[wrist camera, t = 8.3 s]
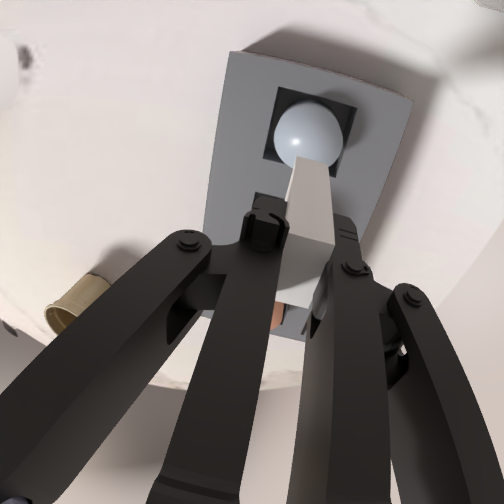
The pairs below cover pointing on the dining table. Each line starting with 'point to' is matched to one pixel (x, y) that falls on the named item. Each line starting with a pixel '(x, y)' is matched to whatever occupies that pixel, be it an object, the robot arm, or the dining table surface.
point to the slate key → (308, 133)
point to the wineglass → (492, 4)
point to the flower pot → (74, 302)
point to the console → (271, 165)
